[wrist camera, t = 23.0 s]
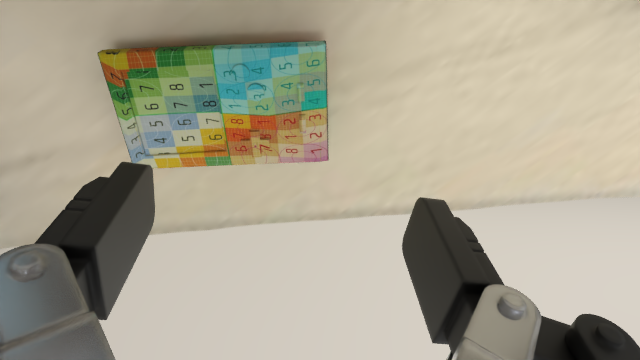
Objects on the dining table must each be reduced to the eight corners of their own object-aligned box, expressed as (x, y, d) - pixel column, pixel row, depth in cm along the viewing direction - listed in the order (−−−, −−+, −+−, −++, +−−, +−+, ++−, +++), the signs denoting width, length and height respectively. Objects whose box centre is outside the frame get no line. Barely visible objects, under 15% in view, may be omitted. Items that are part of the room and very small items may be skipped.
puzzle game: (329, 164, 40) (130, 173, 40) (326, 144, 44) (146, 152, 44) (326, 46, 34) (92, 55, 34) (323, 34, 38) (114, 43, 38)
